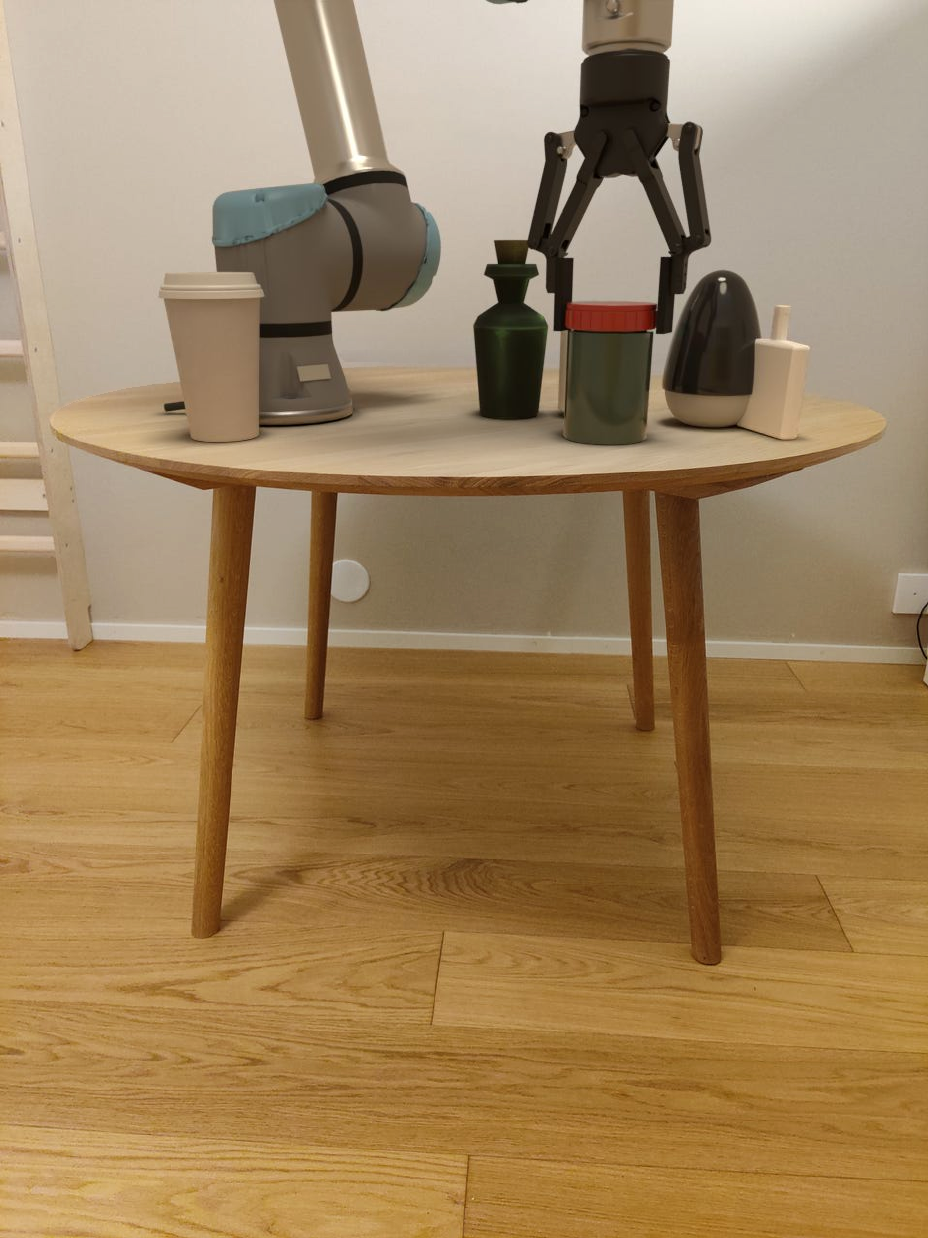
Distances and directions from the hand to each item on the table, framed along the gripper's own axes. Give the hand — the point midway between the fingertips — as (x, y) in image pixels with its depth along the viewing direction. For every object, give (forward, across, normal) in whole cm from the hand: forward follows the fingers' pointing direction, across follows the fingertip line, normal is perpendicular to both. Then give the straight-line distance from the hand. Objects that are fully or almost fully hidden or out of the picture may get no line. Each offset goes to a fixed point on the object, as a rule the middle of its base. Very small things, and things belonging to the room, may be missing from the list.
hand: (611, 331), depth 86 cm
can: (+10, -6, +12) cm, 17 cm away
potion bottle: (+10, -14, +8) cm, 19 cm away
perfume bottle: (+10, +13, +10) cm, 19 cm away
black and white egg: (+10, +7, +13) cm, 18 cm away
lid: (-2, 0, 0) cm, 2 cm away
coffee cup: (+10, -33, -17) cm, 39 cm away
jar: (+10, 0, 0) cm, 10 cm away
